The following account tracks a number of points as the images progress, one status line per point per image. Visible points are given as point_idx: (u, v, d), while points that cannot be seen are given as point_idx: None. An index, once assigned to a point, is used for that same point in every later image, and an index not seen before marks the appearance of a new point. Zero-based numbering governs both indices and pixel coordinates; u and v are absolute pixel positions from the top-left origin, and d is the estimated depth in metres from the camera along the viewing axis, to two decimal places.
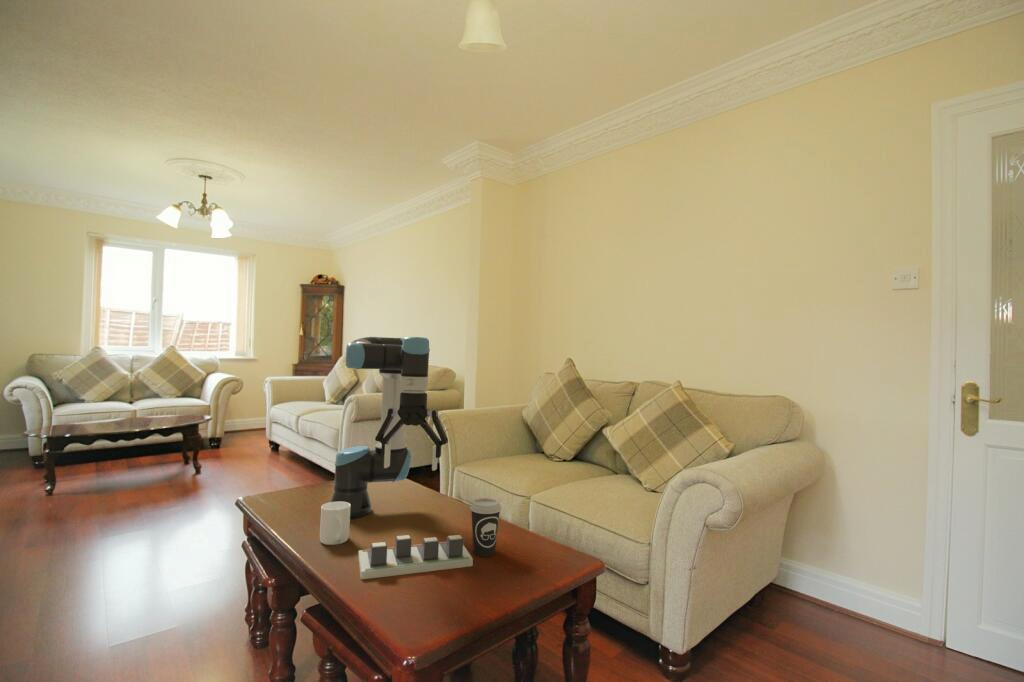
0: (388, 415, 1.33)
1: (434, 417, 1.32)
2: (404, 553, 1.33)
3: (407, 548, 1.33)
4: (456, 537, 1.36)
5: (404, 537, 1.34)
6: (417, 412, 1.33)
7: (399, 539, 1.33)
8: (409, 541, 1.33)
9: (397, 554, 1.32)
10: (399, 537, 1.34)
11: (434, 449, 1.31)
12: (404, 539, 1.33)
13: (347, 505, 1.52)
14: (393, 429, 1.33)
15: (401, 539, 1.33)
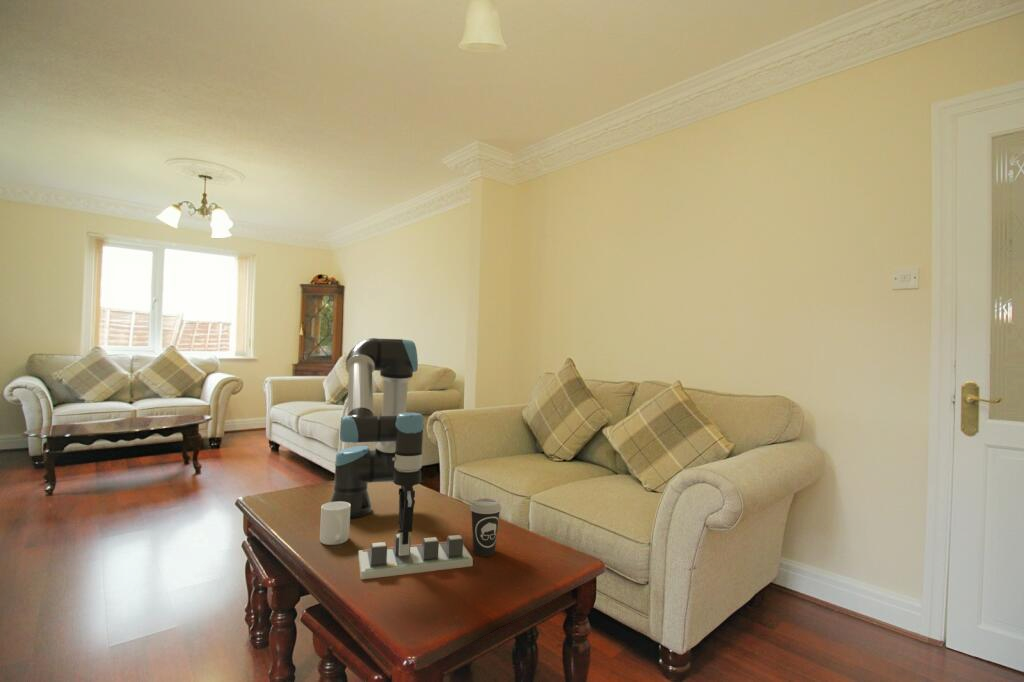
0: None
1: (404, 506, 1.28)
2: None
3: None
4: (456, 537, 1.36)
5: None
6: (403, 488, 1.31)
7: (398, 537, 1.34)
8: None
9: (396, 552, 1.34)
10: (398, 535, 1.35)
11: (400, 534, 1.32)
12: None
13: (347, 505, 1.52)
14: (400, 510, 1.34)
15: None
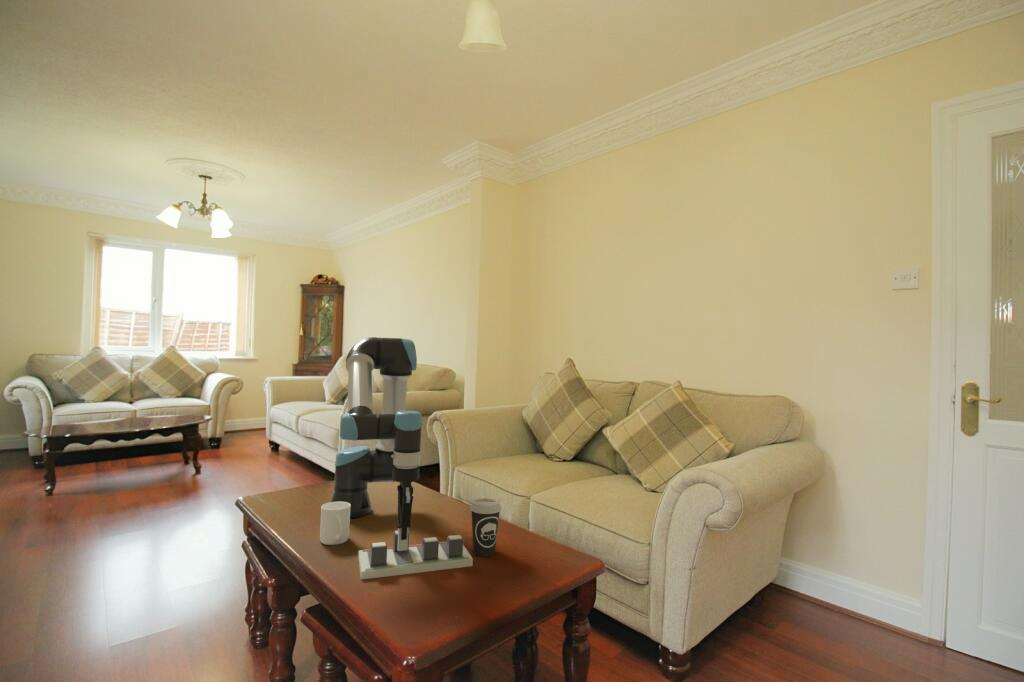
0: None
1: (403, 502, 1.31)
2: None
3: None
4: (456, 537, 1.36)
5: None
6: (402, 484, 1.33)
7: (397, 533, 1.37)
8: None
9: (395, 548, 1.36)
10: (397, 532, 1.38)
11: (398, 530, 1.34)
12: None
13: (347, 505, 1.52)
14: (399, 507, 1.36)
15: None
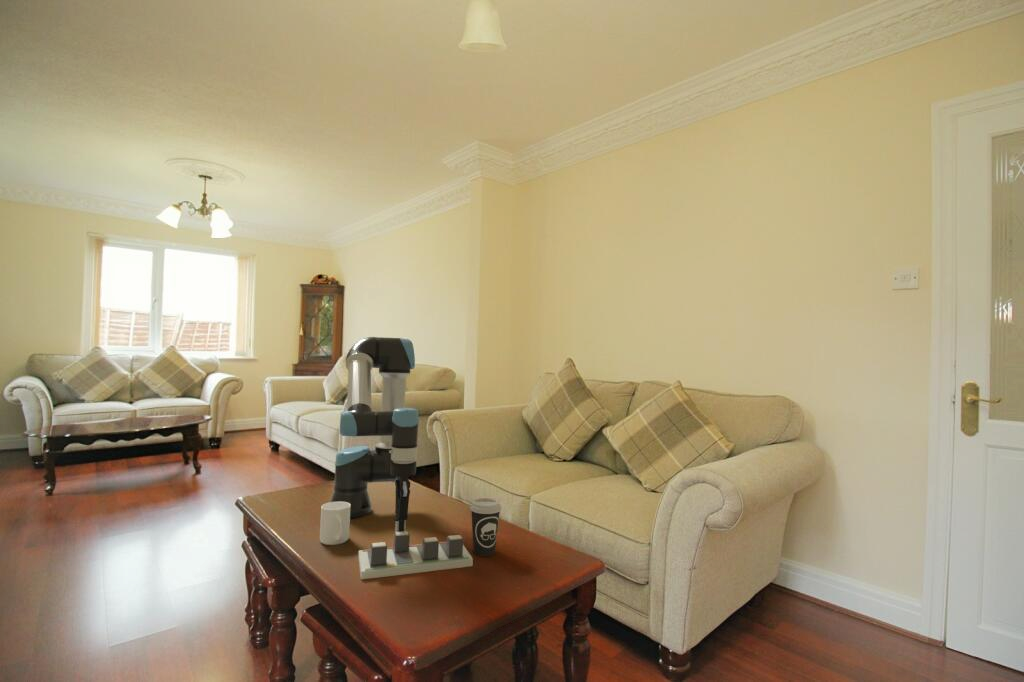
0: None
1: (400, 495, 1.36)
2: (402, 548, 1.36)
3: (406, 544, 1.36)
4: (456, 537, 1.36)
5: (402, 533, 1.37)
6: (399, 478, 1.39)
7: (397, 535, 1.36)
8: (407, 537, 1.36)
9: (396, 549, 1.35)
10: (398, 533, 1.37)
11: (396, 522, 1.40)
12: (402, 535, 1.36)
13: (347, 505, 1.52)
14: (396, 500, 1.42)
15: (399, 535, 1.36)
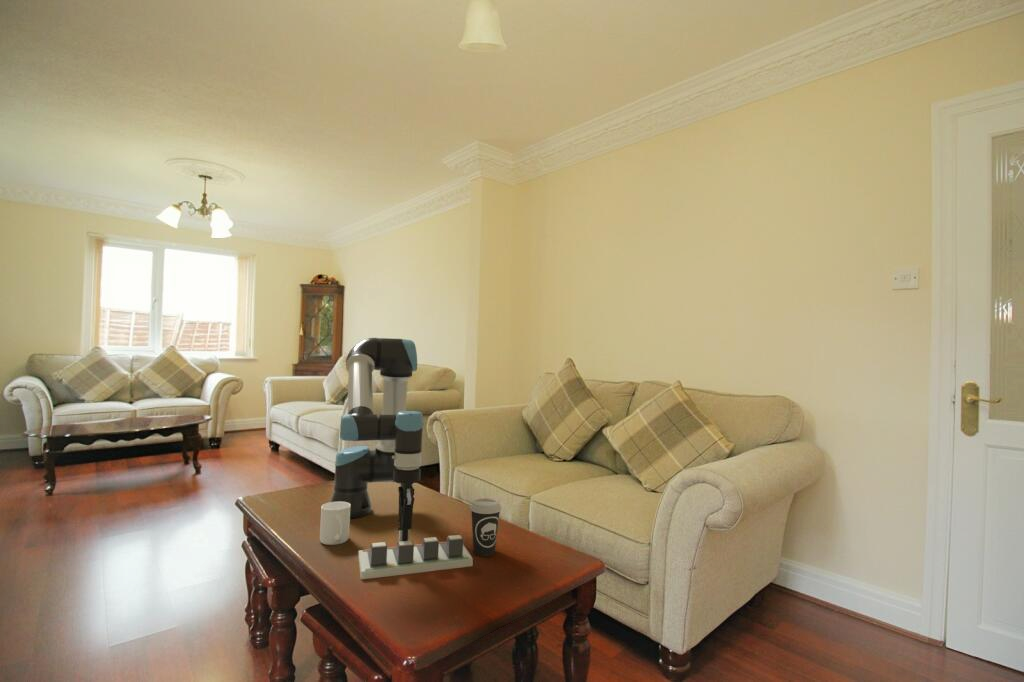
0: None
1: (404, 503, 1.29)
2: (406, 559, 1.29)
3: (410, 554, 1.29)
4: (456, 537, 1.36)
5: (406, 543, 1.30)
6: (403, 485, 1.32)
7: (401, 545, 1.29)
8: (411, 547, 1.29)
9: (399, 560, 1.28)
10: (401, 543, 1.30)
11: (399, 532, 1.33)
12: (406, 545, 1.29)
13: (347, 505, 1.52)
14: (400, 508, 1.35)
15: (403, 545, 1.29)
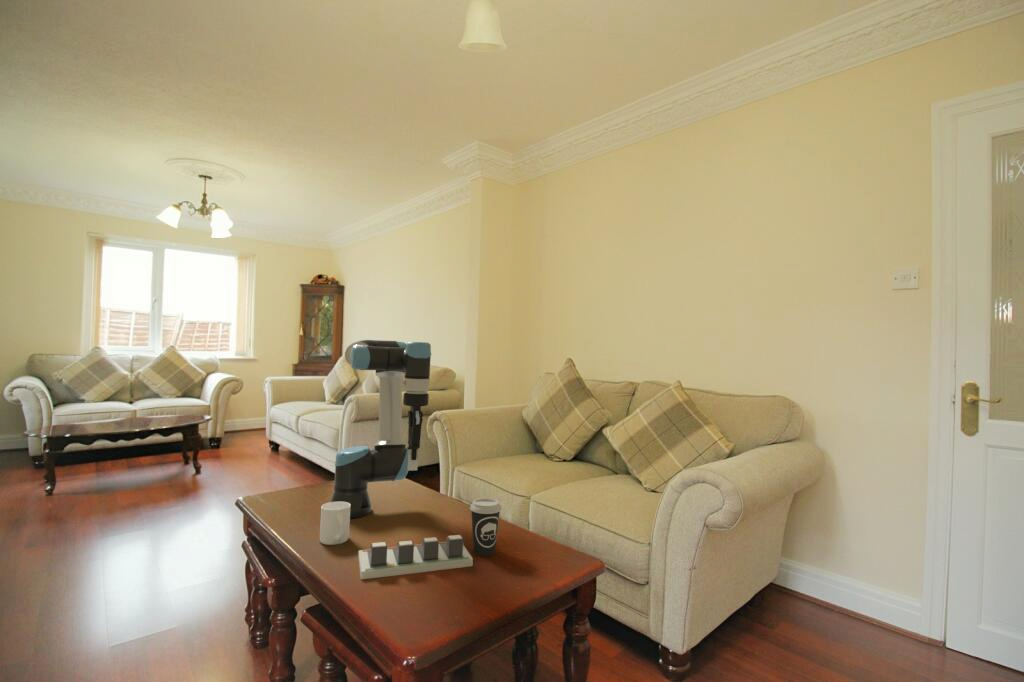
0: None
1: (413, 423, 1.40)
2: (406, 559, 1.29)
3: (410, 554, 1.29)
4: (456, 537, 1.36)
5: (406, 543, 1.30)
6: (412, 408, 1.43)
7: (401, 545, 1.29)
8: (411, 547, 1.29)
9: (399, 560, 1.28)
10: (401, 543, 1.30)
11: (409, 451, 1.44)
12: (406, 545, 1.29)
13: (347, 505, 1.52)
14: (409, 430, 1.46)
15: (403, 545, 1.29)
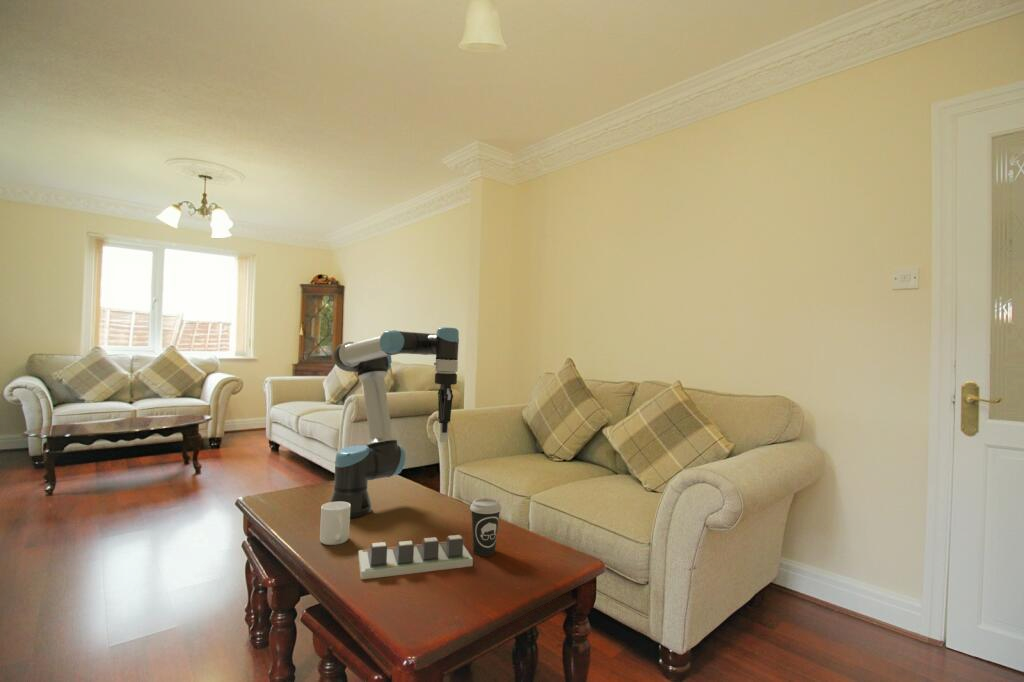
0: (438, 396, 1.67)
1: (444, 399, 1.58)
2: (406, 559, 1.29)
3: (410, 554, 1.29)
4: (456, 537, 1.36)
5: (406, 543, 1.30)
6: (443, 386, 1.61)
7: (401, 545, 1.29)
8: (411, 547, 1.29)
9: (399, 560, 1.28)
10: (401, 543, 1.30)
11: (440, 425, 1.62)
12: (406, 545, 1.29)
13: (347, 505, 1.52)
14: (440, 407, 1.64)
15: (403, 545, 1.29)
